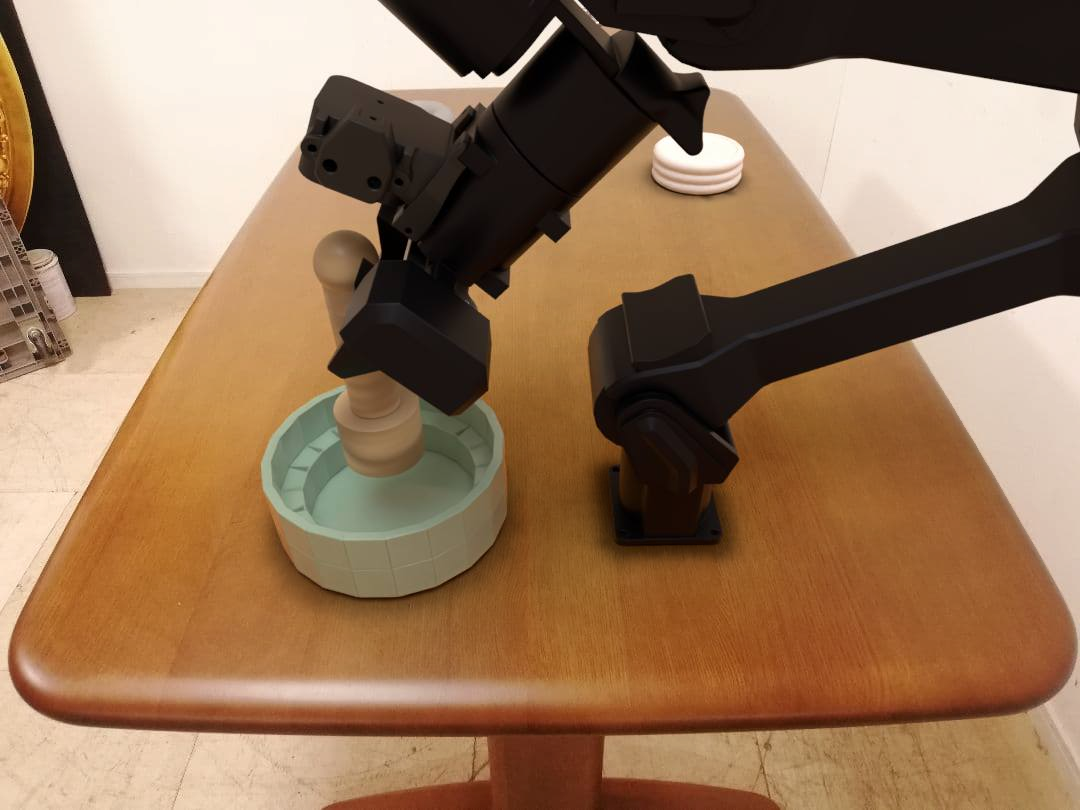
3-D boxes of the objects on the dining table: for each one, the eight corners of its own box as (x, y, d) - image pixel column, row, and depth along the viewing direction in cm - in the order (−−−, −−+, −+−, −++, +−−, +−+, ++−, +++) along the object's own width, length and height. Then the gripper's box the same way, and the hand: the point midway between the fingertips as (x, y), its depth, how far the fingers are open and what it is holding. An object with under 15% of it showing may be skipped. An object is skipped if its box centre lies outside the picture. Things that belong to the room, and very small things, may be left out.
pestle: (441, 437, 47) (410, 222, 38) (393, 489, 44) (347, 267, 35) (378, 414, 49) (334, 203, 40) (328, 461, 46) (267, 244, 37)
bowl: (504, 601, 44) (499, 537, 41) (255, 604, 44) (229, 541, 41) (510, 434, 55) (506, 372, 52) (310, 437, 55) (293, 376, 52)
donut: (448, 119, 104) (373, 127, 102) (446, 92, 102) (369, 100, 99) (465, 146, 96) (385, 155, 94) (464, 118, 94) (381, 127, 92)
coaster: (668, 154, 93) (670, 125, 91) (750, 168, 90) (755, 137, 87) (638, 187, 86) (640, 156, 84) (726, 203, 83) (731, 171, 81)
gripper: (420, -36, 38) (255, 183, 45) (351, 90, 24) (127, 381, 31) (579, 120, 43) (408, 295, 50) (601, 301, 29) (357, 510, 36)
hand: (340, 354), depth 42 cm, fingers closed on pestle, 3 cm apart
